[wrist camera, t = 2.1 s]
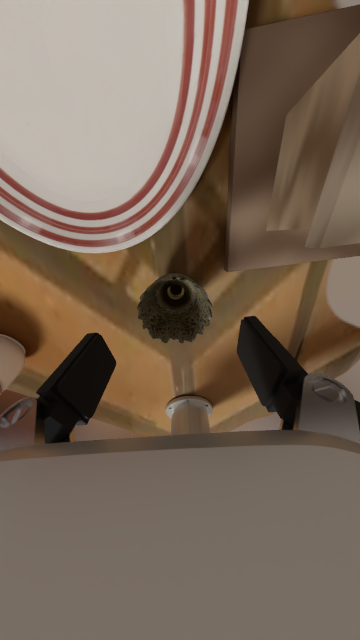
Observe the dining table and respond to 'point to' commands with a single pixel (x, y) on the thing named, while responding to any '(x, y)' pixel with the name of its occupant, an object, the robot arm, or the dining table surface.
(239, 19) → the dinner plate
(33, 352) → the dining table surface
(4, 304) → the dining table surface
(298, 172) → the cream pedestal stand
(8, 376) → the lidded jar
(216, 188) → the dining table surface
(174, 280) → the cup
